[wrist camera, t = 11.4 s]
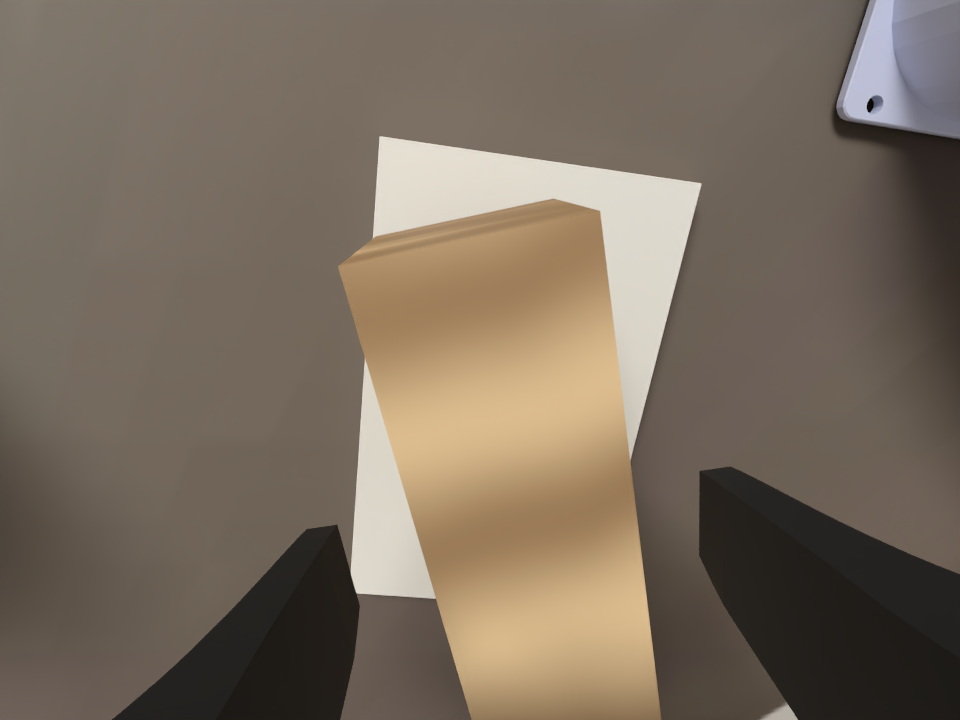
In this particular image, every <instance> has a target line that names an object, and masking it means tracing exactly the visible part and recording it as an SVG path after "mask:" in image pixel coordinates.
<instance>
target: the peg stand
mask: <svg viewBox="0 0 960 720" xmlns="http://www.w3.org/2000/svg"><path fill="white" fill-rule="evenodd" d="M701 184H702V183H695V182H688V181H681V180H674V179H667V178H661V177H654V176H647V175H640V174H633V173H626V172H620V171H613V170H606V169H599V168H592V167H585V166H579V165H572V164H565V163H558V162H551V161H544V160H538V159H531V158H524V157H517V156H510V155H503V154H497V153H490V152H483V151H476V150H469V149H462V148H456V147H449V146H442V145H435V144H428V143H421V142H415V141H408V140H401V139H394V138H387V137H380V140H379V155H378V171H377V186H376V201H375V216H374V231H373V238H375V237H376V236H380V235H384V234H389V233H394V232H398V231H403V230H408V229H413V228H417V227H422V226H427V225H431V224H436V223H441V222H445V221H450V220H455V219H459V218H464V217H469V216H473V215H478V214H483V213H488V212H492V211H497V210H502V209H506V208H511V207H516V206H520V205H525V204H530V203H534V202H539V201H544V200H549V199H553V198H554V199H557V200H561V201H565V202H569V203H572V204H576V205H580V206H584V207H587V208H591V209H595V210H599V211H600V214H601V223H602V231H603V239H604V248H605V256H606V264H607V273H608V281H609V289H610V297H611V306H612V314H613V322H614V331H615V339H616V347H617V356H618V364H619V372H620V380H621V389H622V397H623V405H624V414H625V422H626V430H627V439H628V447H629V455H630V460H631V456H632V452H633V448H634V444H635V440H636V436H637V432H638V429H639V425H640V421H641V417H642V413H643V409H644V405H645V401H646V397H647V394H648V390H649V386H650V382H651V378H652V374H653V370H654V366H655V362H656V359H657V355H658V351H659V347H660V343H661V339H662V335H663V331H664V327H665V324H666V320H667V316H668V312H669V308H670V304H671V300H672V296H673V292H674V289H675V285H676V281H677V277H678V273H679V269H680V265H681V261H682V257H683V254H684V250H685V246H686V242H687V238H688V234H689V230H690V226H691V223H692V219H693V215H694V211H695V207H696V203H697V199H698V195H699V191H700V188H701ZM351 576H352V580H353V584H354V587H355V591H356V593H360V594H375V595H389V596H404V597H419V598H434V599H436V597H435V593H434V590H433V587H432V583H431V580H430V577H429V573H428V570H427V566H426V563H425V560H424V556H423V553H422V549H421V546H420V543H419V539H418V536H417V532H416V529H415V526H414V522H413V519H412V515H411V512H410V509H409V505H408V502H407V498H406V495H405V492H404V488H403V485H402V481H401V478H400V475H399V471H398V468H397V465H396V461H395V458H394V454H393V451H392V448H391V444H390V441H389V437H388V434H387V431H386V427H385V424H384V420H383V417H382V414H381V410H380V407H379V403H378V400H377V397H376V393H375V390H374V386H373V383H372V380H371V376H370V373H369V370H368V366H367V363H366V359H365V366H364V381H363V396H362V411H361V427H360V442H359V457H358V472H357V487H356V502H355V517H354V532H353V547H352V562H351Z"/></svg>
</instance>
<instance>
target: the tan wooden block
mask: <svg viewBox="0 0 960 720" xmlns="http://www.w3.org/2000/svg"><path fill="white" fill-rule="evenodd" d="M338 268H339V271H340V274H341V278H342V281H343V285H344V288H345V291H346V295H347V298H348V302H349V305H350V308H351V312H352V315H353V319H354V322H355V325H356V329H357V332H358V336H359V339H360V342H361V346H362V349H363V353H364V356H365V359H366V363H367V366H368V370H369V373H370V376H371V380H372V383H373V386H374V390H375V393H376V397H377V400H378V403H379V407H380V410H381V414H382V417H383V420H384V424H385V427H386V431H387V434H388V437H389V441H390V444H391V448H392V451H393V454H394V458H395V461H396V465H397V468H398V471H399V475H400V478H401V481H402V485H403V488H404V492H405V495H406V498H407V502H408V505H409V509H410V512H411V515H412V519H413V522H414V526H415V529H416V532H417V536H418V539H419V543H420V546H421V549H422V553H423V556H424V560H425V563H426V566H427V570H428V573H429V577H430V580H431V583H432V587H433V590H434V593H435V597H436V600H437V604H438V607H439V610H440V614H441V617H442V621H443V624H444V627H445V631H446V634H447V638H448V641H449V644H450V648H451V651H452V655H453V658H454V661H455V665H456V668H457V672H458V675H459V678H460V682H461V685H462V688H463V692H464V695H465V699H466V702H467V705H468V709H469V712H470V716H471V719H472V720H661V713H660V704H659V696H658V688H657V679H656V671H655V663H654V655H653V646H652V638H651V630H650V621H649V613H648V605H647V596H646V588H645V580H644V571H643V563H642V555H641V547H640V538H639V530H638V522H637V513H636V505H635V497H634V488H633V480H632V472H631V464H630V455H629V447H628V439H627V430H626V422H625V414H624V405H623V397H622V389H621V380H620V372H619V364H618V356H617V347H616V339H615V331H614V322H613V314H612V306H611V297H610V289H609V281H608V273H607V264H606V256H605V248H604V239H603V231H602V223H601V214H600V211H599V210H595V209H591V208H587V207H584V206H580V205H576V204H572V203H569V202H565V201H561V200H557V199H554V198H553V199H549V200H544V201H539V202H534V203H530V204H525V205H520V206H516V207H511V208H506V209H502V210H497V211H492V212H488V213H483V214H478V215H473V216H469V217H464V218H459V219H455V220H450V221H445V222H441V223H436V224H431V225H427V226H422V227H417V228H413V229H408V230H403V231H398V232H394V233H389V234H384V235H380V236H376V237H375V238H373V239H372V240H371V241H370V242H368V243H367V244H366V245H365V246H363V247H362V248H361V249H359V250H358V251H357V252H356V253H354V254H353V255H352V256H351V257H349V258H348V259H347V260H346V261H344V262H343V263H342V264H341V265H339V266H338Z"/></svg>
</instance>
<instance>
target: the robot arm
mask: <svg viewBox="0 0 960 720" xmlns="http://www.w3.org/2000/svg"><path fill="white" fill-rule="evenodd" d="M870 98H872V100H873V102H874V106H873V109H872V111H871V112H870V113H869V112H868V111H867V102H868V101H869V99H870ZM836 109H837V113H838V115H839V116H840V118H841V119H843V120H846V121H851V122H857V123H863V124H869V125H875V126H882V127H888V128H894V129H900V130H906V131H912V132H919V133H925V134H931V135H937V136H943V137H949V138H956V139H960V0H870V1H869V4H868V7H867V11H866V14H865V17H864V20H863V23H862V26H861V29H860V32H859V35H858V39H857V42H856V45H855V48H854V51H853V54H852V57H851V60H850V63H849V67H848V70H847V73H846V76H845V79H844V82H843V85H842V88H841V91H840V95H839V98H838V101H837V107H836ZM699 556H700V558H701V560H702V562H703V564H704V566H705V569H706V571H707V573H708V575H709V577H710V579H711V581H712V583H713V585H714V587H715V589H716V591H717V593H718V595H719V597H720V599H721V601H722V603H723V605H724V606H725V608H726V609H727V611H728V613H729V614H730V616H731V617H732V619H733V620H734V622H735V624H736V625H737V627H738V628H739V630H740V631H741V633H742V634H743V636H744V638H745V639H746V641H747V642H748V644H749V645H750V647H751V648H752V650H753V651H754V653H755V654H756V656H757V657H758V659H759V661H760V662H761V664H762V665H763V667H764V668H765V670H766V671H767V673H768V674H769V676H770V677H771V679H772V680H773V682H774V683H775V685H776V687H777V688H778V690H779V691H780V693H781V694H782V696H783V697H784V699H785V700H786V702H787V703H788V705H789V706H790V708H791V709H792V711H793V712H794V714H795V716H796V717H797V719H798V720H960V574H958V573H955V572H952V571H950V570H947V569H945V568H942V567H940V566H937V565H935V564H932V563H930V562H927V561H925V560H923V559H920V558H918V557H915V556H913V555H911V554H908V553H906V552H904V551H902V550H899V549H897V548H895V547H893V546H891V545H888V544H886V543H884V542H882V541H880V540H877V539H875V538H873V537H871V536H868V535H866V534H864V533H862V532H860V531H858V530H856V529H854V528H852V527H850V526H847V525H845V524H843V523H841V522H839V521H837V520H835V519H833V518H831V517H829V516H827V515H825V514H823V513H821V512H819V511H817V510H815V509H813V508H811V507H809V506H808V505H806V504H804V503H802V502H800V501H798V500H796V499H794V498H792V497H790V496H788V495H786V494H784V493H782V492H781V491H779V490H777V489H775V488H773V487H771V486H769V485H767V484H765V483H763V482H761V481H759V480H757V479H755V478H753V477H751V476H749V475H747V474H745V473H743V472H741V471H739V470H737V469H735V468H732V467H725V468H718V469H711V470H704V471H700V514H699ZM359 608H360V605H359V602H358V598H357V594H356V591H355V587H354V584H353V580H352V576H351V573H350V569H349V566H348V562H347V558H346V555H345V551H344V548H343V544H342V540H341V537H340V533H339V530H338V526H337V525H333V526H326V527H319V528H312V529H307V530H306V531H305V532H304V533H303V534H302V535H301V536H300V537H299V538H298V539H297V540H296V541H295V542H294V543H293V544H292V545H291V546H290V547H289V548H288V549H287V551H286V552H285V553H284V554H283V555H282V556H281V557H280V558H279V559H278V560H277V562H276V563H275V564H274V565H273V566H272V567H271V568H270V569H269V570H268V571H267V573H266V574H265V575H264V576H263V577H262V578H261V579H260V580H259V581H258V582H257V583H256V584H255V585H254V587H253V588H252V589H251V590H250V591H249V592H248V593H247V594H246V595H245V596H244V597H243V598H242V599H241V601H240V602H239V603H238V604H237V605H236V606H235V607H234V608H233V609H232V610H231V611H230V612H229V613H228V614H227V615H226V616H225V617H224V618H223V619H222V620H221V621H220V622H219V623H218V624H217V625H216V626H215V627H214V628H213V629H212V630H211V631H210V632H209V633H208V634H207V635H206V636H205V637H204V638H203V639H202V640H201V641H200V642H199V643H198V644H197V645H196V646H195V647H194V648H193V649H192V650H191V651H190V652H189V653H188V654H187V655H186V656H184V657H183V658H182V659H181V660H180V661H179V662H178V663H177V664H176V665H175V666H174V667H173V668H172V669H170V670H169V671H168V672H167V673H166V674H165V675H164V676H163V677H162V678H160V679H159V680H158V681H157V682H156V683H155V684H154V685H152V686H151V687H150V688H149V689H148V690H147V691H145V692H144V693H143V694H142V695H141V696H140V697H138V698H137V699H136V700H135V701H134V702H133V703H132V704H130V705H129V706H128V707H127V708H126V709H124V710H123V711H122V712H121V713H120V714H118V715H117V716H116V717H115V718H114V719H112V720H340V718H341V713H342V709H343V705H344V700H345V696H346V692H347V687H348V683H349V679H350V674H351V670H352V665H353V660H354V654H355V646H356V637H357V628H358V618H359Z"/></svg>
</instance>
